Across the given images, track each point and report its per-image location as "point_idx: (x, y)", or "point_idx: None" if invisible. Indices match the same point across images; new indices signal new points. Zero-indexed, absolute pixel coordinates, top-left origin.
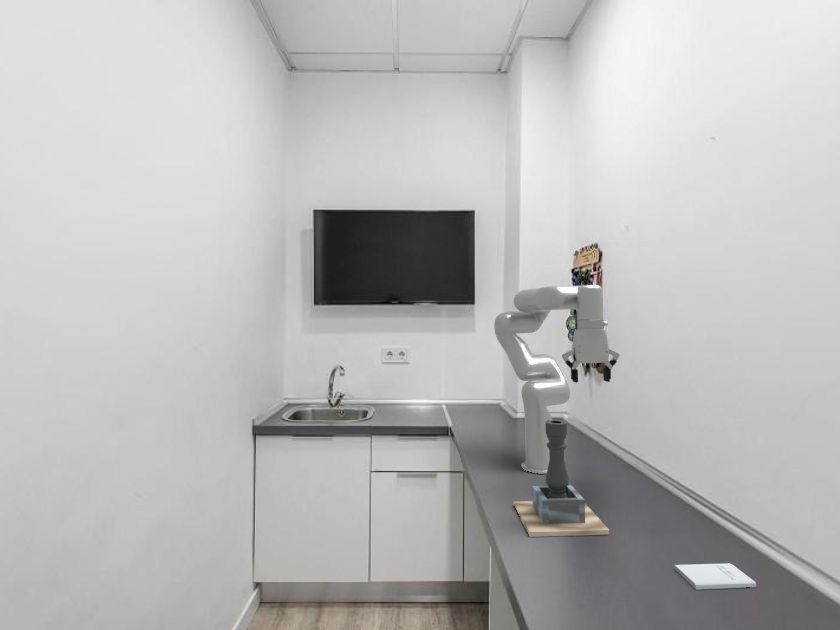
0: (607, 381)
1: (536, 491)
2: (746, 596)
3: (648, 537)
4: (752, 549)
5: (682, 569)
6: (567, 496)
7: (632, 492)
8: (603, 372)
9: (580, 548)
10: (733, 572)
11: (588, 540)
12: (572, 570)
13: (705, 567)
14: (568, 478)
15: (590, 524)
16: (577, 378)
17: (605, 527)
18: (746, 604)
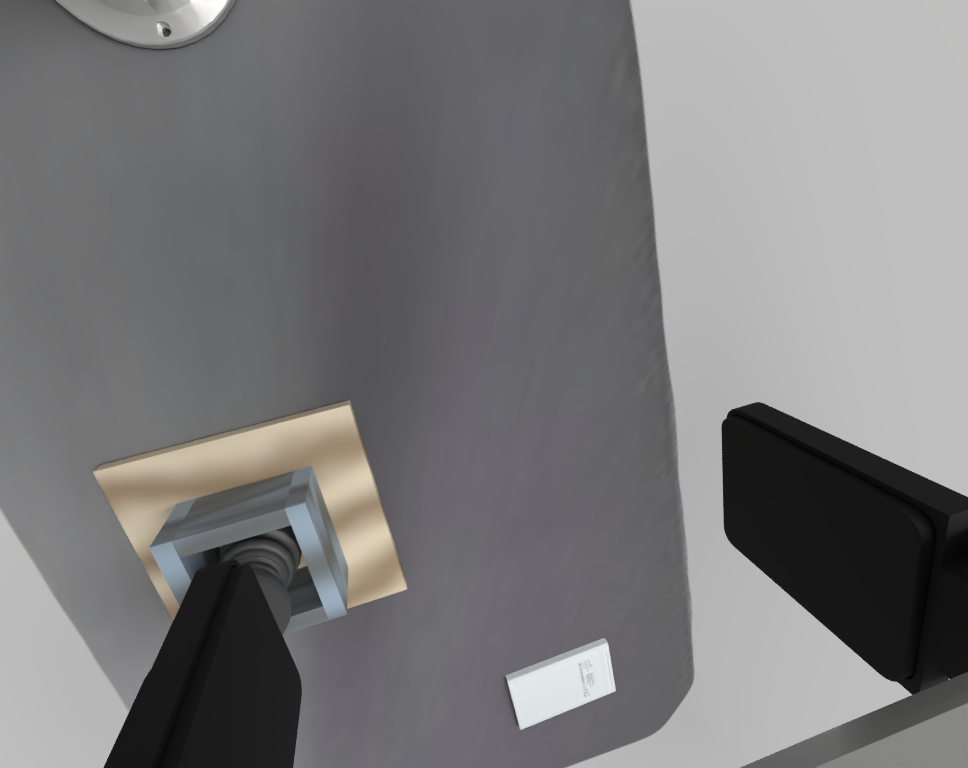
0: (730, 528)
1: (175, 593)
2: (585, 714)
3: (494, 567)
4: (677, 562)
5: (516, 695)
6: (292, 571)
7: (534, 258)
8: (831, 474)
9: (330, 660)
10: (597, 674)
11: (351, 621)
12: (310, 743)
13: (558, 675)
14: (288, 614)
15: (362, 572)
16: (286, 748)
17: (399, 579)
18: (574, 733)
